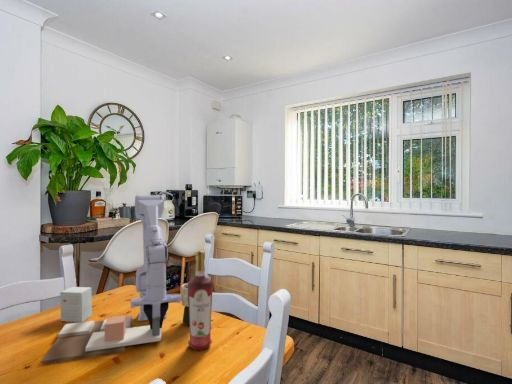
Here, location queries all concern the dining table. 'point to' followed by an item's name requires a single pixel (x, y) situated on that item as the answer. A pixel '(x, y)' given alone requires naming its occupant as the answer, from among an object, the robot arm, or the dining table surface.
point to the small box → (76, 304)
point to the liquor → (200, 306)
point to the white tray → (127, 336)
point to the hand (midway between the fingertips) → (156, 327)
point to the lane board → (79, 342)
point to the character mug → (185, 303)
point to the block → (115, 328)
